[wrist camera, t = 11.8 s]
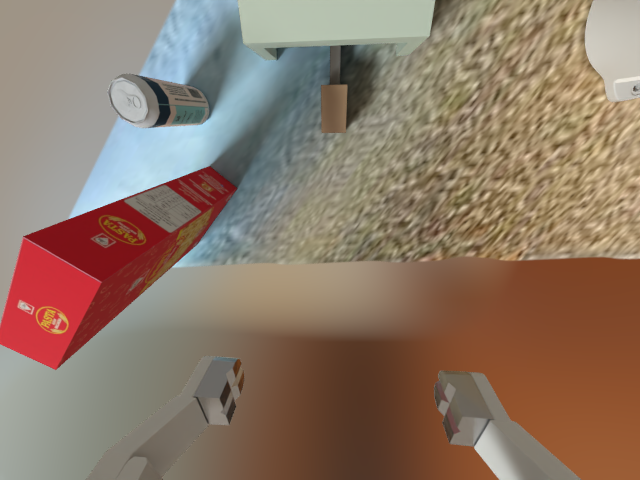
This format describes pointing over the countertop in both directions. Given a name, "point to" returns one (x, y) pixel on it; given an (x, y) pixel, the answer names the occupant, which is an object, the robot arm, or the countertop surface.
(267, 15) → the pale green bridge
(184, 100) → the beer can
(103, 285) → the food packaging
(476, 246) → the countertop surface
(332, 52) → the scraper
